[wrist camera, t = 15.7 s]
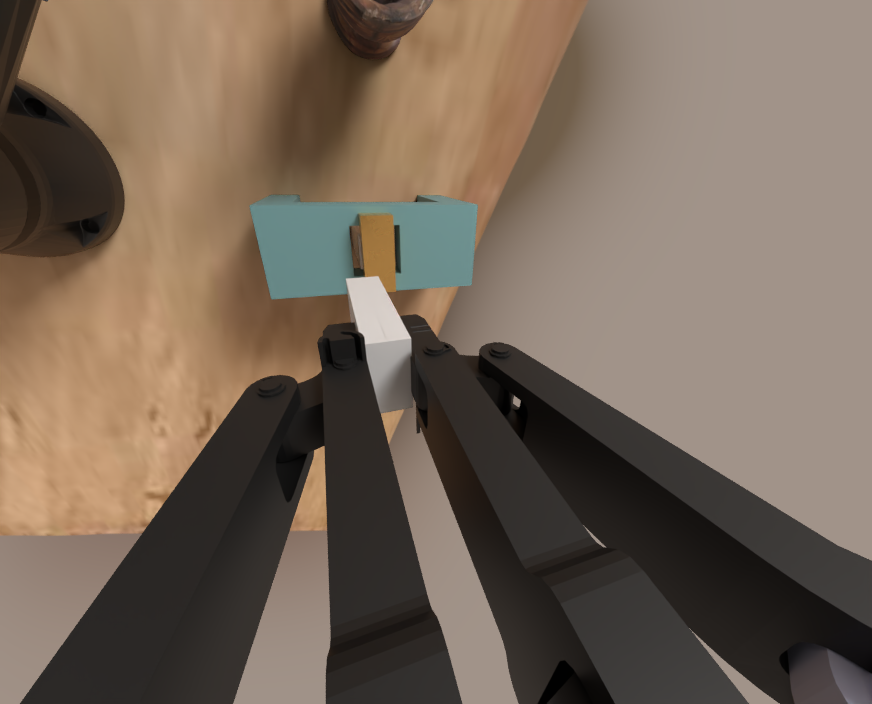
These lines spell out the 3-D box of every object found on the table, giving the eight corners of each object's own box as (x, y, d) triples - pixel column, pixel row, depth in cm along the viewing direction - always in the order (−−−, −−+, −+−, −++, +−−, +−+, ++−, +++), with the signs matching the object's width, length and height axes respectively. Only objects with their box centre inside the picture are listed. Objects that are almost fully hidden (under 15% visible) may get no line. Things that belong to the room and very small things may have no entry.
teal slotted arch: (285, 265, 41) (271, 299, 30) (271, 194, 37) (249, 205, 27) (438, 258, 46) (471, 285, 36) (440, 195, 42) (477, 204, 32)
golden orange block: (353, 258, 42) (364, 293, 31) (347, 201, 39) (357, 215, 27) (378, 257, 43) (398, 291, 31) (375, 201, 40) (395, 215, 28)
